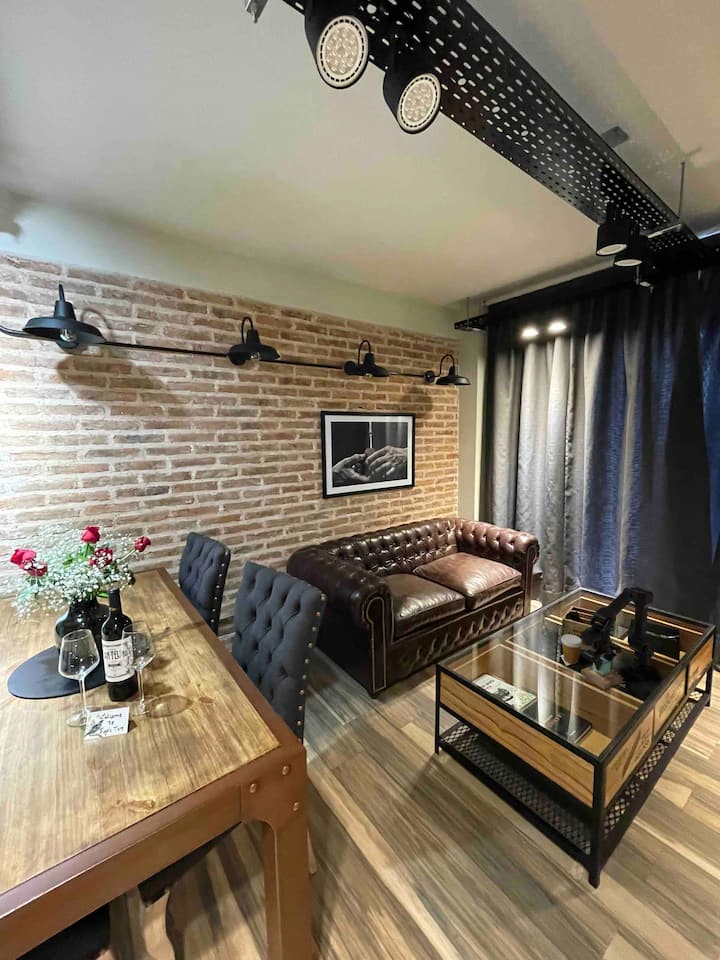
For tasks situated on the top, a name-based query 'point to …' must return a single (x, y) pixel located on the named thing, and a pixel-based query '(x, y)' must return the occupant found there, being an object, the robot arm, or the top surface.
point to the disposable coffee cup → (571, 648)
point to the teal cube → (603, 666)
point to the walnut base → (601, 677)
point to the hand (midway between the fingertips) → (601, 668)
